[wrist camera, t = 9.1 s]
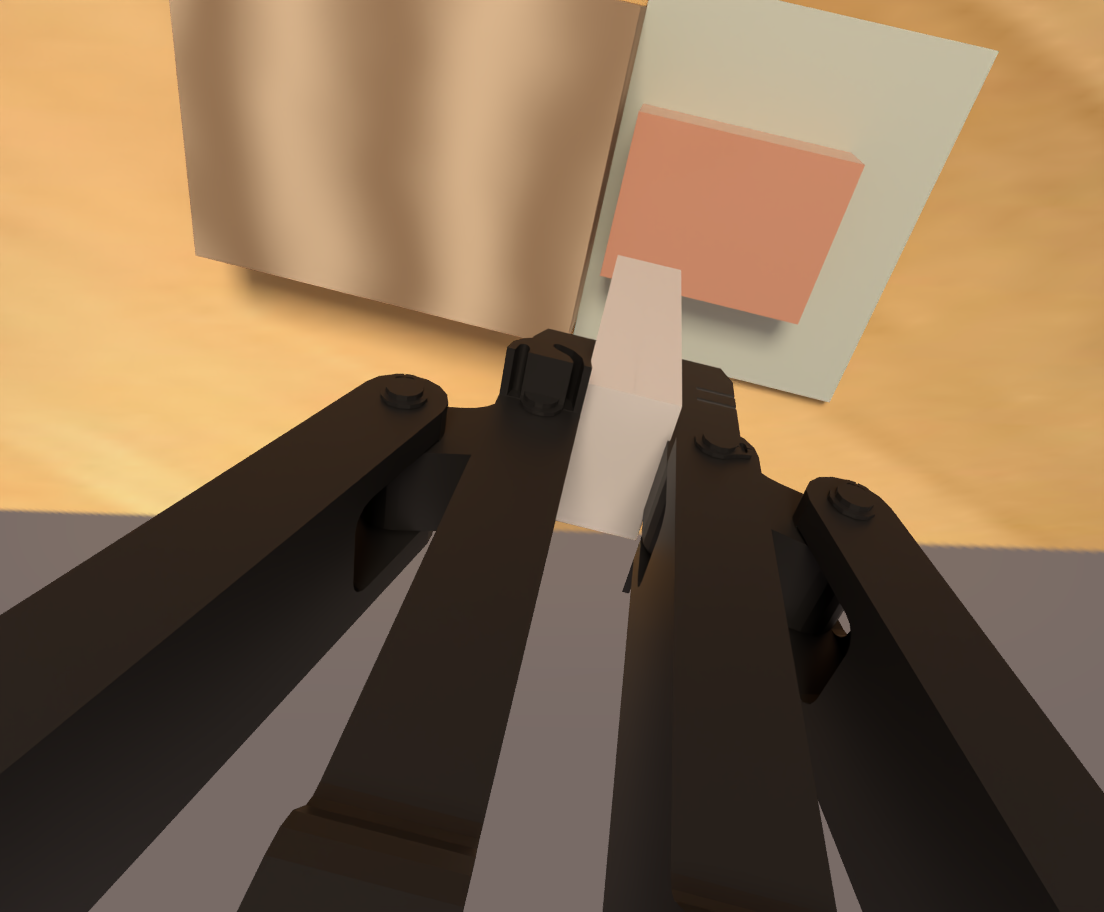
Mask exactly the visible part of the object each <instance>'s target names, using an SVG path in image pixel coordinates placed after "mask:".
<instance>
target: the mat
mask: <svg viewBox="0 0 1104 912" xmlns="http://www.w3.org/2000/svg"><path fill="white" fill-rule="evenodd" d="M998 52H999V51H997V50H992V49H988V48H983V47H979V46H975V45H970V44H966V43H962V42H957V41H953V40H949V39H944V38H940V37H936V36H931V35H927V34H922V33H918V32H914V31H909V30H905V29H901V28H896V27H892V26H888V25H883V24H879V23H875V22H870V21H866V20H862V19H857V18H853V17H848V16H844V15H840V14H835V13H831V12H827V11H822V10H818V9H814V8H809V7H805V6H801V5H796V4H792V3H788V2H783V1H779V0H649V1H648V5H647V9H646V14H645V18H644V23H643V27H642V32H641V36H640V40H639V45H638V49H637V54H636V58H635V63H634V67H633V72H632V76H631V80H630V85H629V89H628V94H627V98H626V103H625V107H624V111H623V116H622V120H621V125H620V129H619V134H618V138H617V143H616V147H615V151H614V156H613V160H612V165H611V169H610V174H609V178H608V182H607V187H606V191H605V196H604V200H603V205H602V209H601V214H600V218H599V222H598V227H597V231H596V236H595V240H594V245H593V249H592V254H591V258H590V262H589V267H588V271H587V276H586V280H585V285H584V289H583V293H582V298H581V302H580V307H579V311H578V316H577V320H576V325H575V329H574V333H573V335H577V336H581V337H585V338H590V339H594V340H596V339H597V335H598V331H599V327H600V323H601V319H602V315H603V312H604V308H605V304H606V300H607V296H608V292H609V288H610V284H611V280H612V279H611V278H607V277H603V276H600V273H601V269H602V265H603V261H604V256H605V252H606V248H607V244H608V239H609V235H610V231H611V227H612V222H613V218H614V214H615V210H616V206H617V201H618V197H619V193H620V189H621V184H622V180H623V176H624V172H625V167H626V163H627V159H628V155H629V150H630V146H631V142H632V138H633V134H634V129H635V125H636V121H637V117H638V112H639V110H640V108H641V106H642V105H643V103H644V104H648V105H652V106H656V107H661V108H665V109H669V110H673V111H678V112H682V113H686V114H690V115H694V116H699V117H703V118H707V119H711V120H716V121H720V122H724V123H728V124H732V125H737V126H741V127H745V128H749V129H754V130H758V131H762V132H766V133H771V134H775V135H779V136H783V137H787V138H792V139H796V140H800V141H804V142H809V143H813V144H817V145H821V146H825V147H830V148H834V149H838V150H842V151H847V152H851V153H852V154H853V155H855V156H856V157H857V158H858V159H859V160H860V161H861V162H862V163H864V164H865V166H864V169H863V171H862V174H861V176H860V178H859V181H858V183H857V185H856V188H855V190H854V193H853V195H852V197H851V200H850V202H849V204H848V207H847V209H846V212H845V214H844V216H843V219H842V221H841V223H840V226H839V228H838V231H837V233H836V235H835V238H834V240H833V242H832V245H831V247H830V250H829V252H828V254H827V257H826V259H825V261H824V264H823V266H822V269H821V271H820V273H819V276H818V278H817V280H816V283H815V285H814V287H813V290H812V292H811V295H810V297H809V299H808V302H807V304H806V306H805V309H804V311H803V314H802V316H801V318H800V321H799V323H798V325H797V324H793V323H789V322H785V321H781V320H777V319H773V318H769V317H765V316H761V315H757V314H753V313H749V312H745V311H741V310H737V309H733V308H729V307H725V306H721V305H716V304H712V303H708V302H704V301H700V300H696V299H692V298H688V297H684V296H681V311H682V359H684V360H688V361H692V362H696V363H700V364H704V365H709V366H713V367H717V368H721V369H722V371H723V372H724V373H725V374H726V375H727V377H730V378H734V379H738V380H742V381H746V382H750V383H754V384H758V385H762V386H766V387H770V388H774V389H778V390H782V391H786V392H790V393H794V394H798V395H802V396H806V397H810V398H814V399H818V400H822V401H826V402H830V400H831V398H832V396H833V394H834V392H835V390H836V388H837V386H838V383H839V381H840V379H841V377H842V375H843V373H844V371H845V369H846V367H847V365H848V363H849V361H850V359H851V357H852V354H853V352H854V350H855V348H856V346H857V344H858V342H859V340H860V338H861V336H862V334H863V332H864V330H865V328H866V325H867V323H868V321H869V319H870V317H871V315H872V313H873V311H874V309H875V307H876V305H877V303H878V301H879V299H880V296H881V294H882V292H883V290H884V288H885V286H886V284H887V282H888V280H889V278H890V276H891V274H892V272H893V270H894V267H895V265H896V263H897V261H898V259H899V257H900V255H901V253H902V251H903V249H904V247H905V245H906V243H907V241H908V238H909V236H910V234H911V232H912V230H913V228H914V226H915V224H916V222H917V220H918V218H919V216H920V214H921V212H922V209H923V207H924V205H925V203H926V201H927V199H928V197H929V195H930V193H931V191H932V189H933V187H934V185H935V183H936V180H937V178H938V176H939V174H940V172H941V170H942V168H943V166H944V164H945V162H946V160H947V158H948V156H949V154H950V151H951V149H952V147H953V145H954V143H955V141H956V139H957V137H958V135H959V133H960V131H961V129H962V127H963V125H964V122H965V120H966V118H967V116H968V114H969V112H970V110H971V108H972V106H973V104H974V102H975V100H976V98H977V96H978V93H979V91H980V89H981V87H982V85H983V83H984V81H985V79H986V77H987V75H988V73H989V71H990V69H991V67H992V64H993V62H994V60H995V58H996V56H997V54H998Z"/></svg>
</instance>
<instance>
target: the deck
mask: <svg viewBox="0 0 1104 912" xmlns="http://www.w3.org/2000/svg"><path fill="white" fill-rule="evenodd" d="M169 3H170V13H171V22H172V32H173V42H174V51H175V61H176V71H177V80H178V90H179V99H180V109H181V119H182V128H183V138H184V148H185V157H186V167H187V177H188V186H189V196H190V205H191V215H192V225H193V234H194V244H195V254H196V256H200V257H204V258H208V259H212V260H216V261H220V262H224V263H228V264H232V265H236V266H240V267H244V268H248V269H252V270H256V271H260V272H264V273H268V274H272V275H276V276H279V277H283V278H287V279H291V280H295V281H299V282H303V283H307V284H311V285H315V286H319V287H323V288H327V289H331V290H335V291H339V292H343V293H347V294H351V295H355V296H359V297H363V298H367V299H371V300H375V301H379V302H383V303H387V304H390V305H394V306H398V307H402V308H406V309H410V310H414V311H418V312H422V313H426V314H430V315H434V316H438V317H442V318H446V319H450V320H454V321H458V322H462V323H466V324H470V325H474V326H478V327H482V328H486V329H490V330H494V331H498V332H501V333H505V334H509V335H513V336H517V337H521V338H533V336H535V335H537V334H539V333H541V332H542V331H544V330H546V329H548V328H549V329H553V330H557V331H561V332H565V333H569V334H571V332H572V330H573V327H574V324H575V322H576V319H577V316H578V311H579V307H580V302H581V298H582V293H583V289H584V285H585V280H586V276H587V271H588V267H589V262H590V258H591V254H592V249H593V245H594V240H595V236H596V231H597V227H598V222H599V218H600V214H601V209H602V205H603V200H604V196H605V191H606V187H607V182H608V178H609V174H610V169H611V165H612V160H613V156H614V151H615V147H616V143H617V138H618V134H619V129H620V125H621V120H622V116H623V111H624V107H625V103H626V98H627V94H628V89H629V85H630V80H631V76H632V72H633V67H634V63H635V58H636V54H637V49H638V45H639V40H640V36H641V32H642V27H643V23H644V18H645V14H646V9H647V6H643V5H639V4H634V3H630V2H626V1H621V0H169Z"/></svg>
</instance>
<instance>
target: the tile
mask: <svg viewBox="0 0 1104 912" xmlns="http://www.w3.org/2000/svg"><path fill="white" fill-rule="evenodd" d="M864 166H865V164H864V163H862V162H861V161H860V160H859V159H858V158H857V157H856V156H855V155H853V154H852V153H851V152H847V151H842V150H838V149H834V148H830V147H825V146H821V145H817V144H813V143H809V142H804V141H800V140H796V139H792V138H787V137H783V136H779V135H775V134H771V133H766V132H762V131H758V130H754V129H749V128H745V127H741V126H737V125H732V124H728V123H724V122H720V121H716V120H711V119H707V118H703V117H699V116H694V115H690V114H686V113H682V112H678V111H673V110H669V109H665V108H661V107H656V106H652V105H648V104H644V103H643V105H642V106H641V108H640V110H639V112H638V117H637V121H636V125H635V129H634V134H633V138H632V142H631V146H630V150H629V155H628V159H627V163H626V167H625V172H624V176H623V180H622V184H621V189H620V193H619V197H618V201H617V206H616V210H615V214H614V218H613V222H612V227H611V231H610V235H609V239H608V244H607V248H606V252H605V256H604V261H603V265H602V269H601V273H600V276H603V277H607V278H611V279H612V276H613V272H614V268H615V264H616V260H617V256H618V255H621V256H625V257H629V258H633V259H637V260H641V261H646V262H650V263H654V264H658V265H662V266H666V267H671V268H675V269H679V270H681V296H684V297H688V298H692V299H696V300H700V301H704V302H708V303H712V304H716V305H721V306H725V307H729V308H733V309H737V310H741V311H745V312H749V313H753V314H757V315H761V316H765V317H769V318H773V319H777V320H781V321H785V322H789V323H793V324H797V325H798V323H799V321H800V318H801V316H802V314H803V311H804V309H805V306H806V304H807V302H808V299H809V297H810V295H811V292H812V290H813V287H814V285H815V283H816V280H817V278H818V276H819V273H820V271H821V269H822V266H823V264H824V261H825V259H826V257H827V254H828V252H829V250H830V247H831V245H832V242H833V240H834V238H835V235H836V233H837V231H838V228H839V226H840V223H841V221H842V219H843V216H844V214H845V212H846V209H847V207H848V204H849V202H850V200H851V197H852V195H853V193H854V190H855V188H856V185H857V183H858V181H859V178H860V176H861V174H862V171H863V169H864Z"/></svg>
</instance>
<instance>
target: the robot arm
mask: <svg viewBox="0 0 1104 912" xmlns="http://www.w3.org/2000/svg"><path fill="white" fill-rule="evenodd" d="M735 408H736V403H735V399H734V389H733V383H732V381H731V380H730V379H729V378H728V377H727V375H726V374H725V373H724V372H723V371H722V369H721V368H717V367H713V366H709V365H704V364H700V363H696V362H692V361H688V360H684V359H682V311H681V270H679V269H675V268H671V267H666V266H662V265H658V264H654V263H650V262H646V261H641V260H637V259H633V258H629V257H625V256H621V255H618V256H617V260H616V264H615V268H614V272H613V276H612V280H611V284H610V288H609V292H608V296H607V300H606V304H605V308H604V312H603V315H602V319H601V323H600V327H599V331H598V335H597V339H596V340H594V339H590V338H585V337H581V336H577V335H573V334H569V333H565V332H561V331H557V330H553V329H549V328H548V329H546V330H544V331H542V332H541V333H539V334H537V335H535V336H533V338H523V339H520V340H516V341H513V342H512V343H511V344H510V345H509V346H508V347H507V352H506V358H505V364H504V370H503V376H502V382H501V388H500V393H499V396H498V398H497V400H496V402H495V404H493V405H490V406H486V407H480V408H456V407H448V398H447V394H446V393H445V392H444V391H443V390H442V388H441V387H440V386H438V385H436V384H435V383H433V382H431V381H429V380H427V379H423V378H420V377H416V376H414V375H409V374H406V375H404V374H392V375H384V376H378V377H376V378H373V379H371V380H369V381H366V382H365V383H363V384H362V385H360V386H358V387H357V388H355V389H354V390H352V391H351V392H349V393H348V394H346V395H344V396H343V397H341V398H340V399H338V400H337V401H335V402H333V403H332V404H330V405H329V406H327V407H326V408H324V409H322V410H321V411H319V412H318V413H316V414H315V415H313V416H311V417H310V418H308V419H307V420H305V421H304V422H302V423H301V424H299V425H297V426H296V427H294V428H293V429H291V430H290V431H288V432H286V433H285V434H283V435H282V436H280V437H279V438H277V439H275V440H274V441H272V442H271V443H269V444H268V445H266V446H265V447H263V448H261V449H260V450H258V451H257V452H255V453H254V454H252V455H250V456H249V457H247V458H246V459H244V460H243V461H241V462H239V463H238V464H236V465H235V466H233V467H232V468H230V469H228V470H227V471H225V472H224V473H222V474H221V475H219V476H218V477H216V478H214V479H213V480H211V481H210V482H208V483H207V484H205V485H203V486H202V487H200V488H199V489H197V490H196V491H194V492H192V493H191V494H189V495H188V496H186V497H185V498H183V499H182V500H180V501H178V502H177V503H175V504H174V505H172V506H171V507H169V508H167V509H166V510H164V511H163V512H161V513H160V514H158V515H156V516H155V517H153V518H152V519H150V520H149V521H147V522H146V523H144V524H142V525H141V526H139V527H138V528H136V529H135V530H133V531H131V532H130V533H128V534H127V535H125V536H124V537H122V538H120V539H119V540H117V541H116V542H114V543H113V544H111V545H109V546H108V547H106V548H105V549H103V550H102V551H100V552H99V553H97V554H95V555H94V556H92V557H91V558H89V559H88V560H86V561H85V562H83V563H81V564H80V565H79V566H77V567H75V568H73V569H72V570H70V571H69V572H67V573H66V574H64V575H63V576H61V577H59V578H58V579H56V580H55V581H53V582H52V583H50V584H49V585H47V586H45V587H44V588H42V589H41V590H39V591H38V592H36V593H34V594H33V595H31V596H30V597H28V598H26V599H25V600H23V601H22V602H20V603H19V604H17V605H16V606H14V607H12V608H11V609H9V610H8V611H7V612H5V613H3V614H1V615H0V912H88V911H89V910H90V909H91V908H92V907H93V906H94V904H96V902H97V901H98V900H99V899H100V898H101V897H102V896H103V895H104V894H105V893H106V891H107V890H108V889H109V888H110V887H111V886H112V885H113V884H114V883H115V882H116V881H117V879H119V877H120V876H121V875H122V874H123V873H124V872H125V871H126V870H127V869H128V868H129V867H130V865H131V864H132V863H133V862H134V861H135V860H136V859H137V858H138V857H139V856H140V855H141V854H142V853H143V851H144V850H145V849H146V848H147V847H148V846H149V845H150V844H151V843H152V842H153V841H154V839H155V838H156V837H157V836H158V835H159V834H160V833H161V832H162V831H163V830H164V829H165V828H166V826H167V825H168V824H169V823H170V822H171V821H172V820H173V819H174V818H175V817H176V816H177V815H178V813H179V812H180V811H181V810H182V809H183V808H184V807H185V806H186V805H187V804H188V803H189V802H190V800H191V799H192V798H193V797H194V796H195V795H196V794H197V793H198V792H199V791H200V790H201V789H202V787H203V786H204V785H205V784H206V783H207V782H208V781H209V780H210V779H211V778H212V777H213V775H214V774H215V773H216V772H217V771H218V770H219V769H220V768H221V767H222V766H223V765H224V764H225V762H226V761H227V760H228V759H229V758H230V757H231V756H232V755H233V754H234V753H235V752H236V751H237V749H238V748H239V747H240V746H241V745H242V744H243V743H244V742H245V741H246V740H247V738H248V737H249V736H250V735H251V734H252V733H253V732H254V731H255V730H256V729H257V728H258V727H259V726H260V724H261V723H262V722H263V721H264V720H265V719H266V718H267V717H268V716H269V715H270V714H271V713H272V711H273V710H274V709H275V708H276V707H277V706H278V705H279V704H280V703H281V702H282V701H283V700H284V698H285V697H286V696H287V695H288V694H289V693H290V692H291V691H292V690H293V689H294V688H295V686H296V685H297V684H298V683H299V682H300V681H301V680H302V679H303V678H304V677H305V676H306V675H307V673H308V672H309V671H310V670H311V669H312V668H313V667H314V666H315V665H316V663H318V662H319V660H320V659H321V658H322V657H323V656H324V655H325V654H326V653H327V652H328V651H329V650H330V648H331V647H332V646H333V645H334V644H335V643H336V642H337V641H338V640H339V639H340V638H341V636H342V635H343V634H344V633H345V632H346V631H347V630H348V629H349V628H350V627H351V626H352V625H353V624H354V622H355V621H356V620H357V619H358V618H359V617H360V616H361V615H362V614H363V613H364V612H365V610H366V609H367V608H368V607H369V606H370V605H371V604H372V603H373V602H374V601H375V599H376V598H377V597H378V596H379V595H380V594H381V593H382V592H383V591H384V590H385V589H386V588H387V587H388V586H389V584H390V583H391V582H392V581H393V580H394V579H395V578H396V577H397V576H398V575H399V574H400V573H401V571H402V570H403V569H404V568H405V567H406V566H407V565H408V564H409V563H410V562H411V561H412V559H413V558H414V557H415V556H416V555H417V554H418V553H419V552H420V551H421V550H422V548H424V546H425V545H426V544H427V543H428V541H429V539H430V537H431V536H432V532H433V531H436V533H435V535H434V537H433V539H432V541H431V543H430V545H429V547H428V550H427V552H426V554H425V556H424V558H423V560H422V563H421V565H420V567H419V569H418V571H417V573H416V576H415V578H414V580H413V582H412V585H411V586H410V589H409V591H408V593H407V595H406V597H405V600H404V602H403V604H402V606H401V608H400V610H399V613H398V615H397V617H396V619H395V621H394V623H393V625H392V627H391V630H390V632H389V634H388V636H387V638H386V641H385V643H384V645H383V647H382V649H381V651H380V653H379V656H378V658H377V660H376V662H375V664H374V667H373V669H372V671H371V673H370V675H369V677H368V680H367V682H366V684H365V686H364V688H363V690H362V692H361V695H360V697H359V699H358V701H357V704H356V706H355V708H354V710H353V712H352V714H351V716H350V718H349V720H348V723H347V725H346V727H345V729H344V731H343V733H342V736H341V738H340V740H339V742H338V744H337V747H336V749H335V751H334V753H333V755H332V757H331V759H330V762H329V764H328V766H327V768H326V770H325V772H324V775H323V777H322V779H321V781H320V783H319V785H318V787H317V789H316V791H315V793H314V795H313V797H312V798H311V799H310V800H309V802H308V803H307V805H305V806H302V807H300V808H297V809H294V810H293V811H292V812H291V813H290V815H289V816H288V817H287V818H286V820H285V821H284V823H283V824H282V825H281V826H280V828H279V830H278V832H277V834H276V835H275V837H274V839H273V841H272V843H271V844H270V846H269V848H268V850H267V852H266V853H265V855H264V857H263V859H262V862H261V864H260V866H259V868H258V870H257V872H256V874H255V876H254V878H253V880H252V882H251V884H250V886H249V888H248V890H247V892H246V894H245V896H244V898H243V901H242V902H241V905H240V907H239V909H238V911H237V912H463V910H464V906H465V901H466V897H467V893H468V888H469V884H470V880H471V876H472V871H473V867H474V862H475V858H476V853H477V848H478V844H479V839H480V835H481V831H482V826H483V822H484V818H485V814H486V810H487V805H488V801H489V797H490V793H491V789H492V785H493V780H494V776H495V772H496V768H497V763H498V759H499V755H500V751H501V747H502V743H503V738H504V734H505V730H506V726H507V722H508V717H509V713H510V709H511V705H512V701H513V696H514V692H515V688H516V684H517V680H518V675H519V671H520V667H521V663H522V659H523V654H524V650H525V646H526V641H527V637H528V633H529V629H530V625H531V621H532V617H533V612H534V608H535V604H536V600H537V596H538V591H539V587H540V583H541V579H542V575H543V571H544V566H545V562H546V558H547V554H548V550H549V545H550V541H551V537H552V533H553V529H554V524H555V520H556V521H560V522H564V523H568V524H572V525H576V526H580V527H584V528H588V529H592V530H596V531H600V532H604V533H608V534H612V535H616V536H620V537H624V538H628V539H632V540H636V539H637V536H638V533H639V530H640V527H641V524H642V521H643V527H642V537H641V540H640V543H639V545H638V548H637V551H636V554H635V557H634V560H633V563H632V565H631V568H630V571H629V574H628V577H627V580H626V583H625V586H624V588H623V591H622V592H625V593H629V592H630V589H631V595H630V608H629V618H628V629H627V640H626V652H625V665H624V674H623V675H624V676H623V686H622V697H621V709H620V721H619V731H618V744H617V754H616V767H615V778H614V789H613V800H612V812H611V823H610V835H609V845H608V846H609V847H608V857H607V868H606V880H605V891H604V902H603V912H837V909H836V904H835V898H834V892H833V886H832V881H831V874H830V870H829V863H828V857H827V851H826V845H825V840H824V834H823V828H822V822H821V816H820V810H819V805H818V801H819V804H820V806H821V809H822V811H823V814H824V816H825V819H826V821H827V824H828V826H829V829H830V831H831V834H832V836H833V839H834V841H835V844H836V846H837V849H838V851H839V854H840V857H841V859H842V862H843V864H844V867H845V869H846V871H847V874H848V876H849V879H850V881H851V884H852V886H853V889H854V892H855V894H856V896H857V899H858V901H859V904H860V906H861V909H862V912H1104V793H1103V791H1102V790H1101V788H1100V787H1099V786H1098V785H1097V783H1096V782H1095V780H1094V779H1093V778H1092V776H1091V775H1090V774H1089V772H1088V771H1087V770H1086V769H1085V767H1084V766H1083V764H1082V763H1081V762H1080V760H1079V759H1078V758H1077V756H1076V755H1075V754H1074V752H1073V751H1072V750H1071V748H1070V747H1069V746H1068V744H1067V743H1066V742H1065V740H1064V739H1063V738H1062V736H1061V735H1060V734H1059V732H1058V731H1057V730H1056V728H1055V727H1054V726H1053V724H1052V723H1051V722H1050V720H1049V719H1048V718H1047V716H1046V715H1045V714H1044V712H1043V711H1042V710H1041V708H1040V707H1039V706H1038V704H1037V703H1036V702H1035V700H1034V699H1033V698H1032V696H1031V695H1030V693H1029V692H1028V691H1027V689H1026V688H1025V687H1024V686H1023V684H1022V683H1021V682H1020V680H1019V679H1018V677H1017V676H1016V675H1015V674H1014V672H1013V671H1012V669H1011V668H1010V667H1009V665H1008V664H1007V663H1006V662H1005V660H1004V659H1003V658H1002V656H1001V655H1000V653H999V652H998V651H997V649H996V648H995V647H994V645H993V644H992V643H991V641H990V640H989V639H988V637H987V636H986V635H985V634H984V632H983V631H982V629H981V628H980V627H979V626H978V624H977V623H976V621H975V620H974V619H973V617H972V616H971V615H970V613H969V612H968V611H967V609H966V608H965V607H964V605H963V604H962V602H961V601H960V600H959V599H958V597H957V596H956V594H955V593H954V592H953V591H952V589H951V588H950V586H949V585H948V584H947V582H946V581H945V580H944V578H943V577H942V576H941V574H940V573H939V572H938V570H937V569H936V568H935V566H934V565H933V564H932V562H931V561H930V560H929V558H928V557H927V556H926V554H925V553H924V552H923V550H922V549H921V548H920V546H919V545H918V544H917V542H916V541H915V540H914V538H913V537H912V536H911V534H910V533H909V532H908V530H907V529H906V528H905V526H904V525H903V524H902V522H901V521H900V519H899V518H898V517H897V515H896V514H895V513H894V511H893V510H892V509H891V508H890V507H889V506H888V505H887V504H886V503H885V502H884V501H883V500H882V499H881V498H880V497H879V496H877V495H876V494H874V493H873V492H871V491H870V490H869V489H868V488H866V487H865V486H863V485H861V484H856V482H853V481H850V480H844V479H839V478H835V477H818V478H816V479H814V480H812V481H810V482H809V484H808V486H807V488H806V490H805V492H804V494H802V493H800V492H798V491H795V490H793V489H791V488H789V487H786V486H784V485H782V484H780V483H778V482H776V481H774V480H772V479H770V478H768V477H767V476H765V475H764V474H762V473H761V467H760V462H759V457H758V455H757V453H756V451H755V449H754V447H753V446H752V445H750V444H749V443H748V442H747V441H746V440H745V439H744V438H742V437H740V431H739V424H738V417H737V410H736V409H735ZM843 611H845V613H846V615H847V618H848V620H849V623H850V630H851V631H850V632H849V633H848V634H846V632H845V631H844V630H843V628H842V626H841V624H840V622H839V621H838V619H839V617H840V616H841V614H842V612H843Z"/></svg>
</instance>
